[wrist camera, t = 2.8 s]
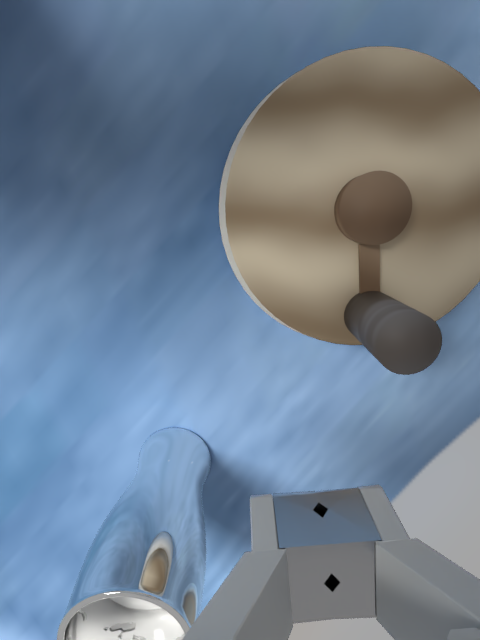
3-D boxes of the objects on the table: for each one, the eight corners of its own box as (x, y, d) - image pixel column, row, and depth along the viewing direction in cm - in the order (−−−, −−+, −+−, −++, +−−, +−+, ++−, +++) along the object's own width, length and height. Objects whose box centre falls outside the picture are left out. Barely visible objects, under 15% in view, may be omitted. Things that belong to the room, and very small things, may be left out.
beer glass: (217, 493, 34) (200, 698, 19) (137, 494, 34) (61, 699, 19) (215, 421, 32) (194, 588, 18) (131, 422, 32) (42, 589, 18)
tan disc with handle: (212, 77, 23) (198, 4, 15) (500, 45, 23) (635, -45, 15) (239, 346, 27) (239, 396, 20) (482, 324, 27) (580, 366, 19)
